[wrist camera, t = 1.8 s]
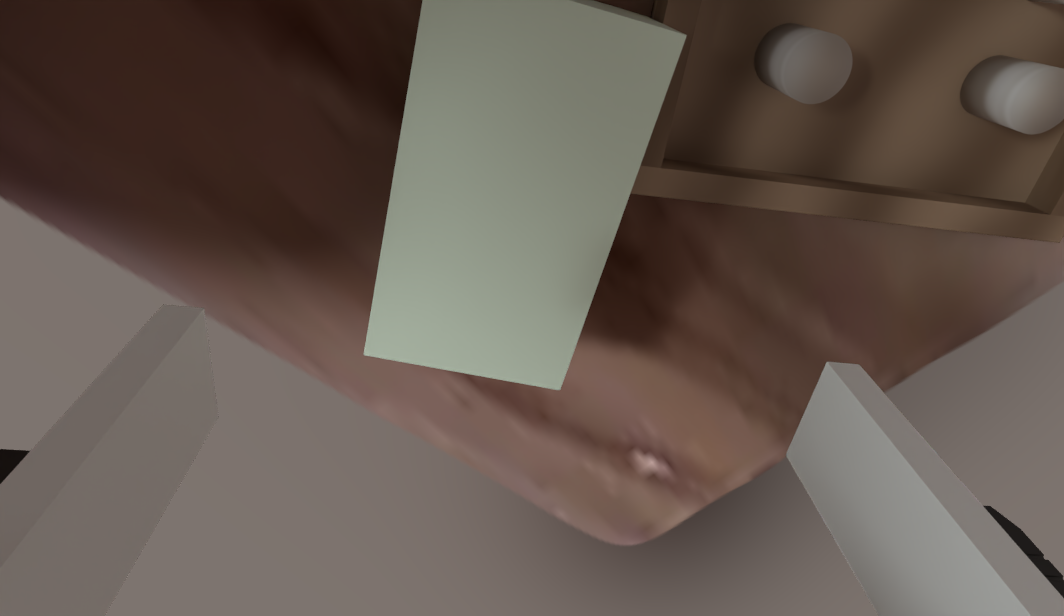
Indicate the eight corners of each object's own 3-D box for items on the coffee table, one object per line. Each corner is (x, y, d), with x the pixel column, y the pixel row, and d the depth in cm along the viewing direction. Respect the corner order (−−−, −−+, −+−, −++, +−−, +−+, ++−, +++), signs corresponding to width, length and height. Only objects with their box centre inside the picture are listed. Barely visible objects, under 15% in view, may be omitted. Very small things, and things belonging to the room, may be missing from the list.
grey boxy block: (547, 315, 31) (559, 390, 26) (385, 283, 30) (363, 354, 25) (645, 15, 25) (686, 35, 20) (442, -46, 23) (429, -42, 18)
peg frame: (617, 177, 28) (632, 206, 25) (720, -315, 20) (763, -360, 17) (1026, 225, 30) (1087, 257, 27) (1263, -196, 22) (1385, -218, 19)
